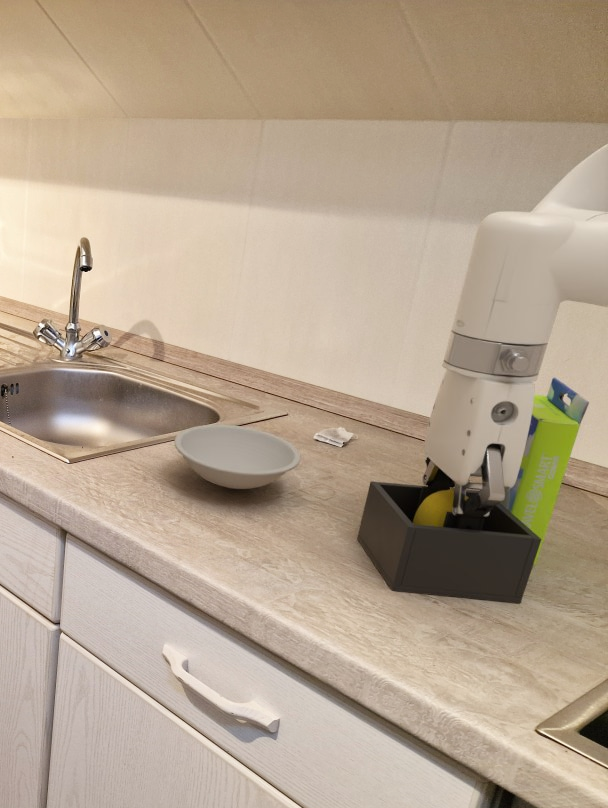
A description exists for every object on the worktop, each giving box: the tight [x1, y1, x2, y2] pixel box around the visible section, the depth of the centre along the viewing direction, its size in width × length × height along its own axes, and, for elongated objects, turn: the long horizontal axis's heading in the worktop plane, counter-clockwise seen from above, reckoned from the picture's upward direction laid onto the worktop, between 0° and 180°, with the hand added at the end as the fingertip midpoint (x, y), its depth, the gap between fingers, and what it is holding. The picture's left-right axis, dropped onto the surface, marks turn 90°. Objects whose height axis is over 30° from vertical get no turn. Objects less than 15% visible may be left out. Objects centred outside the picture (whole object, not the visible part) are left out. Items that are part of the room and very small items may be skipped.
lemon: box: [413, 487, 468, 527], centre depth 82 cm, size 6×6×8 cm
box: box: [500, 377, 590, 566], centre depth 87 cm, size 10×4×17 cm, turn 164°
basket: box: [356, 481, 541, 604], centre depth 83 cm, size 11×11×7 cm
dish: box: [174, 424, 302, 490], centre depth 102 cm, size 18×14×5 cm
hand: (442, 536), depth 83 cm, fingers closed on lemon, 5 cm apart
